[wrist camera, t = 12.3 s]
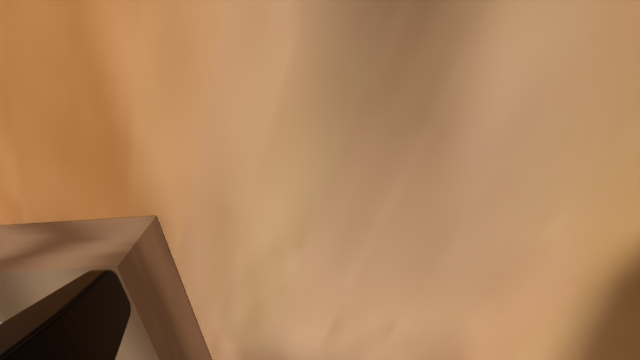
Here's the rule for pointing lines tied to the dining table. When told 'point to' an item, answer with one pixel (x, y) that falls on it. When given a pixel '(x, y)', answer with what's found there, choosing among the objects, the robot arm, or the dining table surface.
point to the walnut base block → (105, 253)
